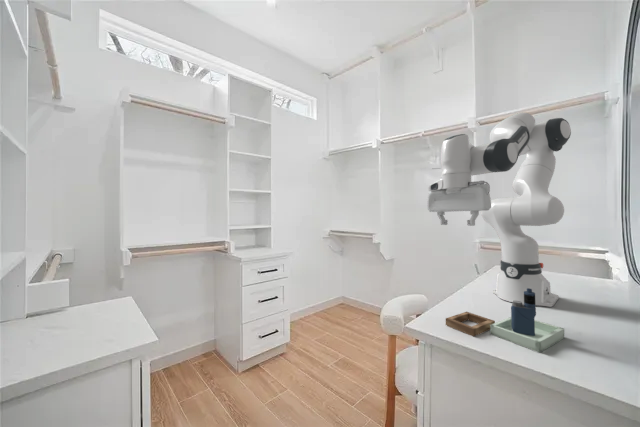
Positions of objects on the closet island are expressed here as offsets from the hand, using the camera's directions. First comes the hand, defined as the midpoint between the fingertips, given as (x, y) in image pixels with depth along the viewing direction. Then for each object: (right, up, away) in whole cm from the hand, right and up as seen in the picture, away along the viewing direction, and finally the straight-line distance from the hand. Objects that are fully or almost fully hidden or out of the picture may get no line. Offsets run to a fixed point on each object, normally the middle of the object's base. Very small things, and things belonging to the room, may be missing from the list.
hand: (456, 225), depth 84 cm
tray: (+10, -29, -17) cm, 35 cm away
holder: (-2, -29, -10) cm, 31 cm away
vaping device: (+9, -28, -16) cm, 34 cm away
